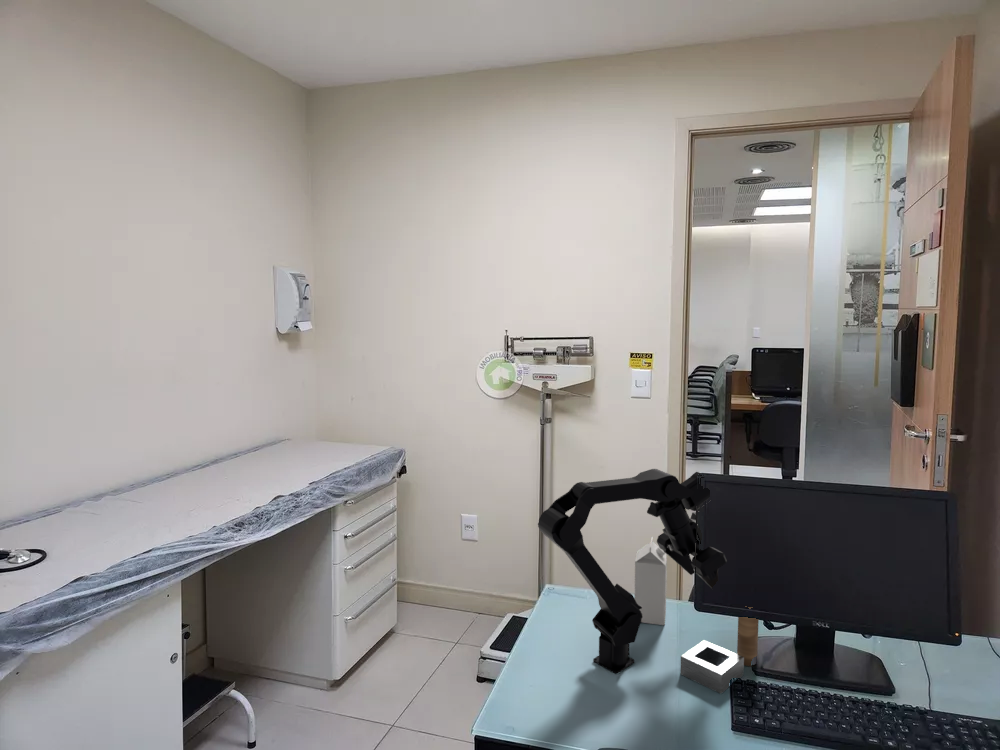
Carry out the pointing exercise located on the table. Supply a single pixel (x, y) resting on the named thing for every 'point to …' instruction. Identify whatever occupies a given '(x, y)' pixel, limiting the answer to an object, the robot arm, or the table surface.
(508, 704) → the table surface
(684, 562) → the robot arm
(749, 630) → the peg
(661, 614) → the milk carton
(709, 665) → the socket block
